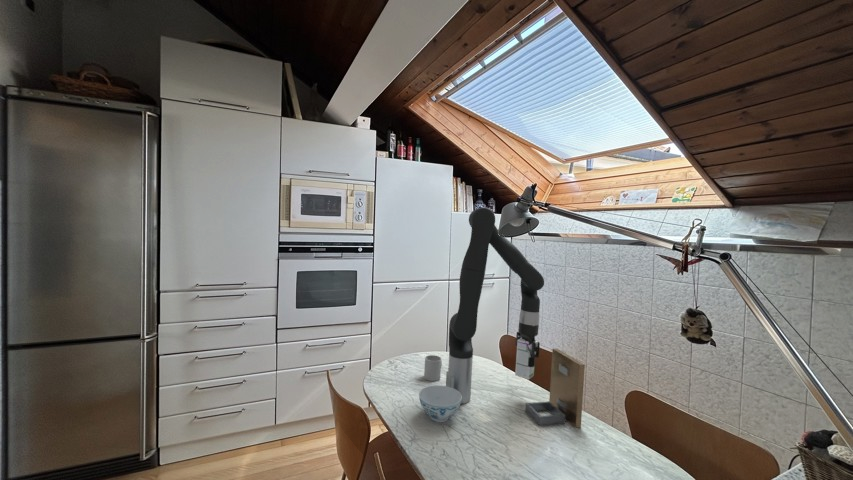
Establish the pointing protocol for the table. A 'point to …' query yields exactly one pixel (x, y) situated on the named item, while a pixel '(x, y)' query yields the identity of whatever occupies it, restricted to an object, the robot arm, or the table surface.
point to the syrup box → (523, 360)
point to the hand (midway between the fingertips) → (525, 362)
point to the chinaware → (440, 402)
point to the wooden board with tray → (562, 393)
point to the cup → (432, 368)
